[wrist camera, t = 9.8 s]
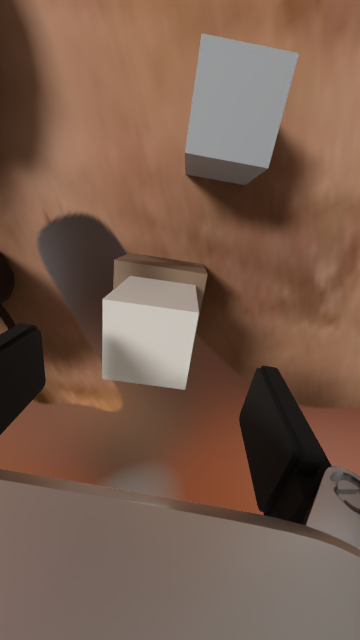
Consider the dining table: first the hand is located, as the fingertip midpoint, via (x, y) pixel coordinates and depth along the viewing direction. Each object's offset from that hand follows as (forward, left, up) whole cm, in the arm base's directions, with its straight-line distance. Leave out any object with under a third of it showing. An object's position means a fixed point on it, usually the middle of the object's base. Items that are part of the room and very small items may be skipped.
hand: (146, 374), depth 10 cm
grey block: (-2, -12, -14) cm, 19 cm away
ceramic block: (0, 0, -9) cm, 9 cm away
